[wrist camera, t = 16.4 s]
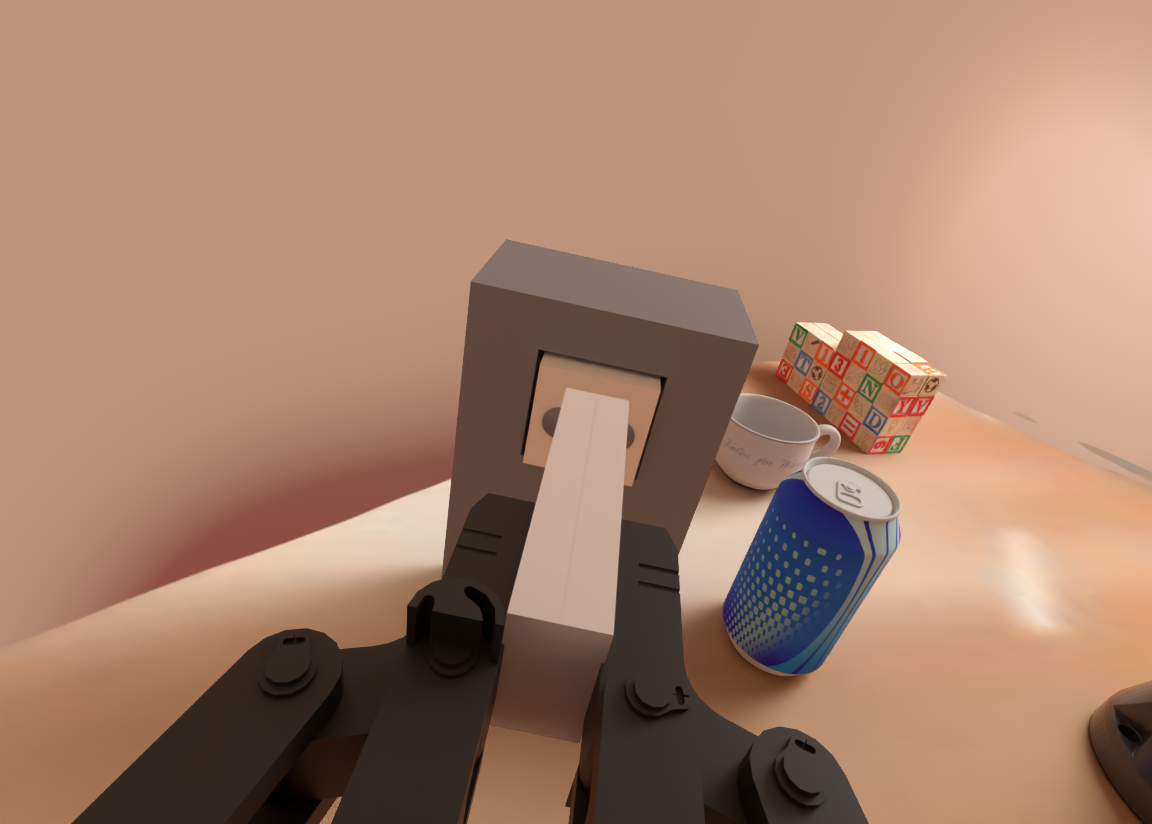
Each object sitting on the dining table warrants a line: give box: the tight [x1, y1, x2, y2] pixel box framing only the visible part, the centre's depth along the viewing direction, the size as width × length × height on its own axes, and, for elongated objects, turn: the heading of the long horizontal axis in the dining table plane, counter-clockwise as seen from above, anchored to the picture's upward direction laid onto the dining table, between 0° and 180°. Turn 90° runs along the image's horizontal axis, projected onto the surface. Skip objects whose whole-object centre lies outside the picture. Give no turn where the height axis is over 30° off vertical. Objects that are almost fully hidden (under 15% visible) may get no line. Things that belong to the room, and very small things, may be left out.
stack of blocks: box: [776, 322, 946, 454], centre depth 83 cm, size 21×6×12 cm, turn 19°
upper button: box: [523, 351, 661, 487], centre depth 34 cm, size 8×6×6 cm
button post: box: [442, 239, 759, 578], centre depth 38 cm, size 8×14×27 cm, turn 84°
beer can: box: [723, 457, 902, 676], centre depth 44 cm, size 8×8×16 cm
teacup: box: [715, 393, 841, 490], centre depth 66 cm, size 14×11×8 cm
